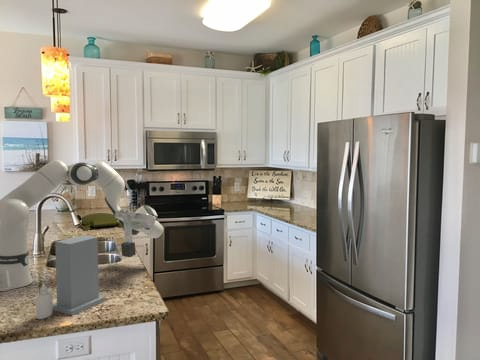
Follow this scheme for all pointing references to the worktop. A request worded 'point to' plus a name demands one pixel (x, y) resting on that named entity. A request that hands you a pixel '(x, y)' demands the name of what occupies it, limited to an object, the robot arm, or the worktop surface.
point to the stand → (77, 274)
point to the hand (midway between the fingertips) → (123, 211)
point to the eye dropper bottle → (44, 303)
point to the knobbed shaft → (128, 237)
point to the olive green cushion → (99, 220)
